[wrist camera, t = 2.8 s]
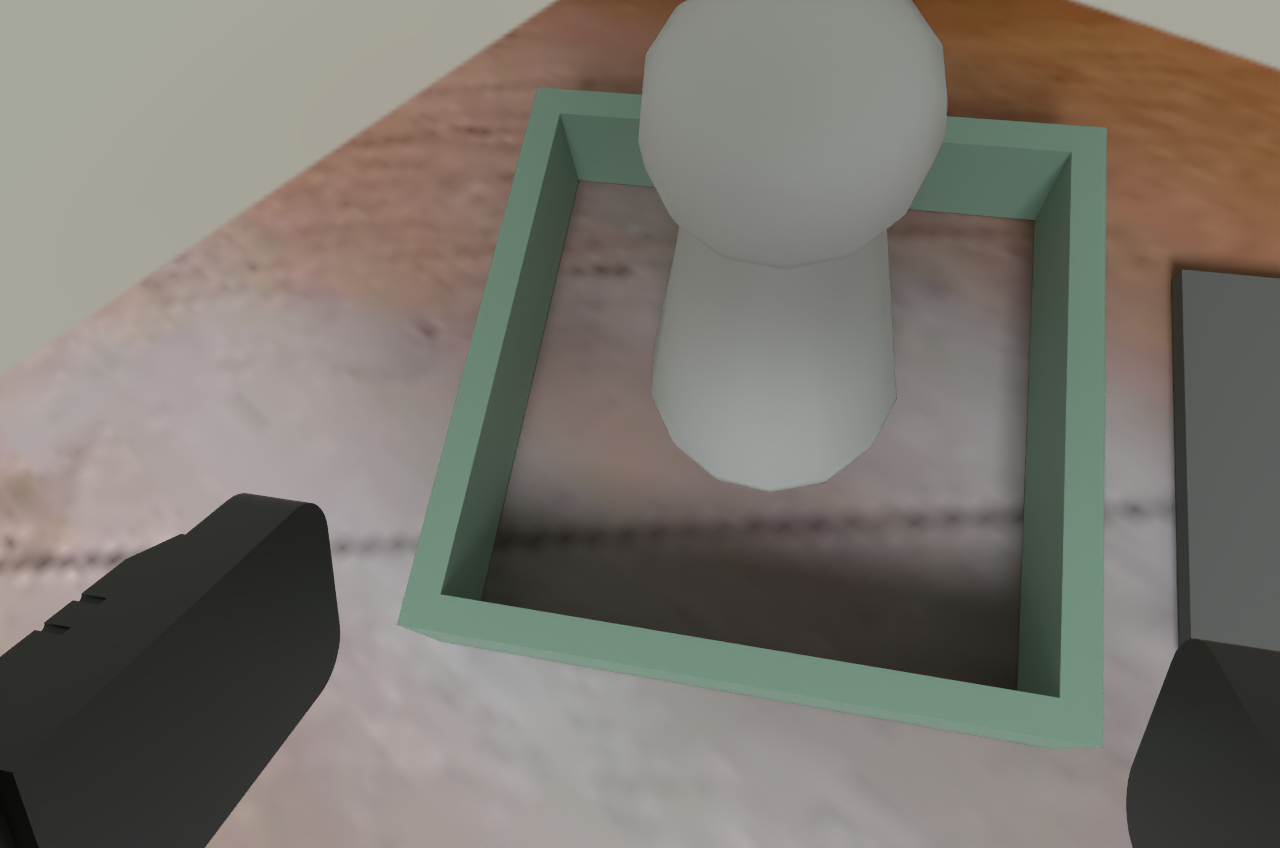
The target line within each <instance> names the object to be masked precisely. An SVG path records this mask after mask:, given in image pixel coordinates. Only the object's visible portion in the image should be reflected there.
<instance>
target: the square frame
mask: <svg viewBox="0 0 1280 848" xmlns="http://www.w3.org/2000/svg"><path fill="white" fill-rule="evenodd" d="M641 102H642V95H640V94H626V93H612V92H598V91H584V90H570V89H556V88H542V87H537V90H536V94H535V98H534V102H533V106H532V110H531V113H530V117H529V121H528V125H527V129H526V133H525V136H524V140H523V144H522V148H521V152H520V156H519V159H518V163H517V167H516V171H515V175H514V179H513V182H512V186H511V190H510V194H509V198H508V202H507V205H506V209H505V213H504V217H503V221H502V225H501V228H500V232H499V236H498V240H497V244H496V247H495V251H494V255H493V259H492V263H491V267H490V270H489V274H488V278H487V282H486V286H485V290H484V293H483V297H482V301H481V305H480V309H479V313H478V316H477V320H476V324H475V328H474V332H473V336H472V339H471V343H470V347H469V351H468V355H467V359H466V362H465V366H464V370H463V374H462V378H461V382H460V385H459V389H458V393H457V397H456V401H455V405H454V408H453V412H452V416H451V420H450V424H449V428H448V431H447V435H446V439H445V443H444V447H443V451H442V454H441V458H440V462H439V466H438V470H437V474H436V477H435V481H434V485H433V489H432V493H431V497H430V500H429V504H428V508H427V512H426V516H425V520H424V523H423V527H422V531H421V535H420V539H419V543H418V546H417V550H416V554H415V558H414V562H413V566H412V569H411V573H410V577H409V581H408V585H407V589H406V592H405V596H404V600H403V604H402V608H401V612H400V615H399V619H398V623H397V625H399V626H402V627H404V628H407V629H410V630H412V631H415V632H417V633H420V634H423V635H425V636H428V637H431V638H433V639H436V640H438V641H442V642H448V643H454V644H459V645H465V646H471V647H476V648H482V649H488V650H493V651H499V652H505V653H510V654H516V655H522V656H528V657H533V658H539V659H545V660H550V661H556V662H562V663H567V664H573V665H579V666H584V667H590V668H596V669H601V670H607V671H613V672H618V673H624V674H630V675H635V676H641V677H647V678H652V679H658V680H664V681H670V682H675V683H681V684H687V685H692V686H698V687H704V688H709V689H715V690H721V691H726V692H732V693H738V694H743V695H749V696H755V697H760V698H766V699H772V700H777V701H783V702H789V703H795V704H800V705H806V706H812V707H817V708H823V709H829V710H834V711H840V712H846V713H851V714H857V715H863V716H868V717H874V718H880V719H885V720H891V721H897V722H902V723H908V724H914V725H920V726H925V727H931V728H937V729H942V730H948V731H954V732H959V733H965V734H971V735H976V736H982V737H988V738H993V739H999V740H1005V741H1010V742H1016V743H1022V744H1027V745H1033V746H1039V747H1044V748H1050V749H1070V748H1102V743H1103V593H1104V443H1105V293H1106V143H1107V128H1105V127H1091V126H1077V125H1063V124H1049V123H1035V122H1021V121H1006V120H992V119H978V118H964V117H950V116H947V120H946V135H945V137H944V140H943V142H942V144H941V146H940V149H939V151H938V153H937V156H936V158H935V160H934V162H933V164H932V166H931V168H930V170H929V172H928V174H927V175H926V177H925V179H924V181H923V183H922V185H921V186H920V188H919V190H918V192H917V194H916V196H915V198H914V199H913V201H912V203H911V205H910V207H909V209H912V210H924V211H935V212H947V213H958V214H970V215H981V216H992V217H1004V218H1015V219H1027V220H1035V223H1034V250H1033V277H1032V304H1031V332H1030V359H1029V386H1028V413H1027V440H1026V468H1025V495H1024V522H1023V549H1022V576H1021V604H1020V631H1019V658H1018V685H1017V691H1015V690H1009V689H1003V688H997V687H991V686H985V685H979V684H973V683H967V682H961V681H955V680H949V679H943V678H937V677H931V676H925V675H920V674H914V673H908V672H902V671H896V670H890V669H884V668H878V667H872V666H866V665H860V664H854V663H848V662H842V661H836V660H830V659H824V658H818V657H812V656H806V655H800V654H794V653H788V652H782V651H776V650H770V649H764V648H758V647H752V646H746V645H740V644H734V643H728V642H722V641H716V640H710V639H704V638H698V637H692V636H686V635H680V634H674V633H668V632H662V631H656V630H650V629H644V628H639V627H633V626H627V625H621V624H615V623H609V622H603V621H597V620H591V619H585V618H579V617H573V616H567V615H561V614H555V613H549V612H543V611H537V610H531V609H525V608H519V607H513V606H507V605H501V604H495V603H489V602H483V601H481V598H482V594H483V589H484V585H485V581H486V577H487V572H488V568H489V564H490V559H491V555H492V551H493V546H494V542H495V538H496V534H497V529H498V525H499V521H500V516H501V512H502V508H503V504H504V499H505V495H506V491H507V486H508V482H509V478H510V473H511V469H512V465H513V461H514V456H515V452H516V448H517V443H518V439H519V435H520V430H521V426H522V422H523V418H524V413H525V409H526V405H527V400H528V396H529V392H530V388H531V383H532V379H533V375H534V370H535V366H536V362H537V357H538V353H539V349H540V345H541V340H542V336H543V332H544V327H545V323H546V319H547V315H548V310H549V306H550V302H551V297H552V293H553V289H554V284H555V280H556V276H557V272H558V267H559V263H560V259H561V254H562V250H563V246H564V241H565V237H566V233H567V229H568V224H569V220H570V216H571V211H572V207H573V203H574V199H575V194H576V190H577V186H578V181H579V180H581V181H592V182H604V183H615V184H626V185H638V186H649V187H655V186H654V184H653V182H652V181H651V179H650V177H649V175H648V173H647V171H646V169H645V166H644V162H643V158H642V154H641V150H640V146H639V142H638V137H639V125H640V114H641Z"/></svg>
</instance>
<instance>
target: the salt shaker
mask: <svg viewBox="0 0 1280 848" xmlns="http://www.w3.org/2000/svg"><path fill="white" fill-rule="evenodd" d="M946 120H947V89H946V78H945V66H944V55H943V45H942V43H941V42H940V41H939V39H938V38H937V36H936V35H935V33H934V32H933V30H932V29H931V27H930V26H929V25H928V23H927V22H926V20H925V19H924V17H923V16H922V14H921V13H920V12H919V10H918V9H917V7H916V6H915V4H914V3H913V1H912V0H686V1H685V2H683V3H681V4H680V5H678V6H677V7H676V8H675V9H674V11H673V13H672V14H671V16H670V17H669V19H668V20H667V22H666V23H665V25H664V27H663V28H662V30H661V31H660V33H659V34H658V36H657V38H656V39H655V41H654V42H653V44H652V45H651V47H650V49H649V50H648V52H647V53H646V57H645V68H644V79H643V90H642V102H641V114H640V125H639V137H638V142H639V146H640V150H641V154H642V158H643V162H644V166H645V169H646V171H647V173H648V175H649V177H650V179H651V181H652V182H653V184H654V186H655V188H656V190H657V192H658V194H659V196H660V198H661V200H662V202H663V203H664V205H665V207H666V209H667V211H668V213H669V215H670V217H671V218H672V219H673V220H674V221H675V223H676V224H677V225H678V226H679V230H678V236H677V242H676V248H675V253H674V258H673V262H672V267H671V271H670V276H669V281H668V285H667V290H666V294H665V299H664V304H663V308H662V313H661V318H660V322H659V327H658V331H657V336H656V341H655V345H654V360H653V377H652V393H651V395H652V397H653V400H654V402H655V404H656V406H657V408H658V410H659V413H660V415H661V417H662V419H663V421H664V424H665V426H666V428H667V430H668V432H669V434H670V437H671V439H672V441H673V443H674V444H675V445H676V447H677V448H678V449H680V450H681V451H682V452H683V453H685V454H686V455H687V456H688V457H689V458H691V459H692V460H693V461H694V462H696V463H697V464H698V465H699V466H701V467H702V468H703V469H704V470H705V471H707V472H708V473H709V474H710V475H712V476H713V477H714V478H715V479H717V480H719V481H724V482H728V483H732V484H736V485H740V486H744V487H749V488H753V489H757V490H761V491H765V492H775V491H780V490H786V489H792V488H797V487H803V486H808V485H814V484H820V483H824V482H826V481H827V480H828V479H829V478H831V477H832V476H833V475H835V474H836V473H837V472H839V471H840V470H841V469H843V468H844V467H845V466H847V465H848V464H849V463H850V462H852V461H853V460H854V459H856V458H857V457H858V456H860V455H861V454H862V453H864V452H865V451H866V450H867V449H868V448H870V447H871V446H872V444H873V443H874V441H875V439H876V437H877V435H878V433H879V431H880V429H881V427H882V425H883V423H884V422H885V420H886V418H887V416H888V414H889V412H890V410H891V408H892V406H893V404H894V402H895V401H896V399H897V397H896V379H895V362H894V344H893V326H892V308H891V291H890V273H889V255H888V237H887V228H889V227H890V226H892V225H893V224H894V223H896V222H897V221H898V220H899V219H900V218H902V217H903V216H904V215H905V214H906V212H907V210H908V209H909V207H910V205H911V203H912V201H913V199H914V198H915V196H916V194H917V192H918V190H919V188H920V186H921V185H922V183H923V181H924V179H925V177H926V175H927V174H928V172H929V170H930V168H931V166H932V164H933V162H934V160H935V158H936V156H937V153H938V151H939V149H940V146H941V144H942V142H943V140H944V137H945V135H946Z"/></svg>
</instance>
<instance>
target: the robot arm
mask: <svg viewBox="0 0 1280 848" xmlns="http://www.w3.org/2000/svg"><path fill="white" fill-rule="evenodd" d="M44 624H45V625H44V628H43V630H42V631H36V630H34V631H33V632H32V633H30V634H29V635H28V636H26V637H25V638H24V639H23V640H21V641H20V642H19V643H17V644H16V645H15V646H14V647H12V648H11V649H10V650H8V651H7V652H6V653H5V654H3V655H2V656H1V657H0V848H205V847H206V845H207V844H208V843H209V841H210V840H211V839H212V837H213V836H214V835H215V833H216V832H217V831H218V829H219V828H220V827H221V825H222V824H223V823H224V821H225V820H226V819H227V817H228V816H229V815H230V813H231V812H232V811H233V809H234V808H235V807H236V805H237V804H238V803H239V801H240V800H241V799H242V797H243V796H244V795H245V793H246V792H247V791H248V789H249V788H250V787H251V785H252V784H253V783H254V781H255V780H256V779H257V777H258V776H259V775H260V773H261V772H262V771H263V769H264V768H265V767H266V765H267V764H268V763H269V761H270V760H271V759H272V757H273V756H274V755H275V753H276V752H277V751H278V749H279V748H280V747H281V745H282V744H283V743H284V741H285V740H286V739H287V738H288V736H289V735H290V734H291V732H292V731H293V730H294V728H295V727H296V726H297V724H298V723H299V722H300V720H301V719H302V718H303V716H304V715H305V714H306V712H307V711H308V710H309V708H310V707H311V706H312V704H313V703H314V702H315V700H316V699H317V698H318V696H319V695H320V694H321V692H322V691H323V689H324V688H325V686H326V684H327V682H328V680H329V678H330V676H331V674H332V671H333V668H334V665H335V662H336V658H337V654H338V649H339V642H340V624H339V616H338V608H337V599H336V591H335V583H334V575H333V567H332V558H331V550H330V542H329V534H328V526H327V521H326V518H325V515H324V513H323V511H322V510H321V509H320V508H319V506H317V505H315V504H312V503H306V502H300V501H293V500H286V499H280V498H273V497H267V496H260V495H253V494H247V493H243V494H238V495H236V496H233V497H232V498H230V499H229V500H228V501H226V502H225V503H224V504H223V505H221V506H220V507H219V508H218V509H216V510H215V511H214V512H213V513H212V514H210V515H209V516H208V517H207V518H205V519H204V520H203V521H202V522H200V523H199V524H198V525H197V526H196V527H194V528H193V529H192V530H191V531H189V532H188V533H187V534H186V535H184V534H180V535H178V536H175V537H173V538H171V539H169V540H167V541H165V542H162V543H160V544H158V545H156V546H154V547H152V548H149V549H147V550H145V551H143V552H141V553H139V554H136V555H134V556H132V557H130V558H128V559H126V560H124V561H123V562H122V563H120V564H119V565H118V566H116V567H115V568H114V569H113V570H111V571H110V572H109V573H107V574H106V575H105V576H104V577H102V578H101V579H100V580H98V581H97V582H96V583H95V584H93V585H92V586H91V587H89V588H88V589H87V590H86V591H84V592H83V593H82V597H81V600H80V601H79V602H78V601H71V602H70V603H69V604H68V605H66V606H65V607H64V608H62V609H61V610H60V611H59V612H57V613H56V614H55V615H53V616H52V617H51V618H50V619H48V620H47V621H46V622H44ZM1126 811H1127V823H1128V830H1129V835H1130V840H1131V843H1132V846H1133V848H1280V651H1274V650H1268V649H1261V648H1254V647H1248V646H1241V645H1235V644H1228V643H1221V642H1215V641H1208V640H1201V639H1194V638H1193V639H1189V640H1187V641H1185V642H1184V643H1183V644H1182V645H1181V646H1180V647H1179V648H1178V650H1177V651H1176V653H1175V655H1174V657H1173V660H1172V662H1171V665H1170V667H1169V670H1168V672H1167V675H1166V678H1165V680H1164V683H1163V686H1162V688H1161V691H1160V693H1159V696H1158V699H1157V701H1156V704H1155V707H1154V709H1153V712H1152V714H1151V717H1150V720H1149V722H1148V725H1147V728H1146V730H1145V733H1144V735H1143V738H1142V741H1141V743H1140V746H1139V749H1138V751H1137V754H1136V756H1135V759H1134V762H1133V764H1132V767H1131V771H1130V775H1129V779H1128V786H1127V797H1126Z"/></svg>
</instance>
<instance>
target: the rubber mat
mask: <svg viewBox="0 0 1280 848" xmlns="http://www.w3.org/2000/svg"><path fill="white" fill-rule="evenodd" d="M1172 326H1173V374H1174V423H1175V472H1176V521H1177V570H1178V619H1179V647H1180V646H1181V645H1182V644H1183V643H1184V642H1185V641H1187V640H1189V639H1193V638H1194V639H1201V640H1208V641H1215V642H1221V643H1228V644H1235V645H1241V646H1248V647H1254V648H1261V649H1268V650H1274V651H1280V279H1279V278H1268V277H1258V276H1247V275H1236V274H1226V273H1215V272H1204V271H1194V270H1183V269H1182V270H1181V271H1180V272H1179V273H1178V274H1177V275H1176V277H1175V278H1174V279H1173V280H1172Z"/></svg>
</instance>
